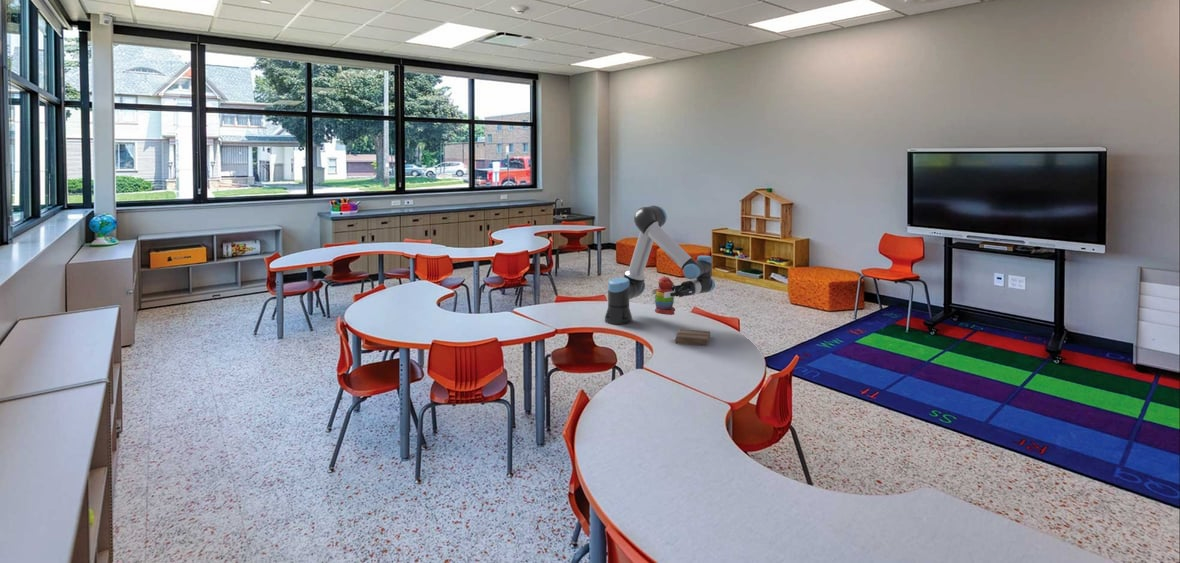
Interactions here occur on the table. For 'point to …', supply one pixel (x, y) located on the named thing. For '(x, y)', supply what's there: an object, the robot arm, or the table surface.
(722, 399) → the table surface
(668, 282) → the stacking bear
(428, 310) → the table surface
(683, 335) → the walnut plinth
